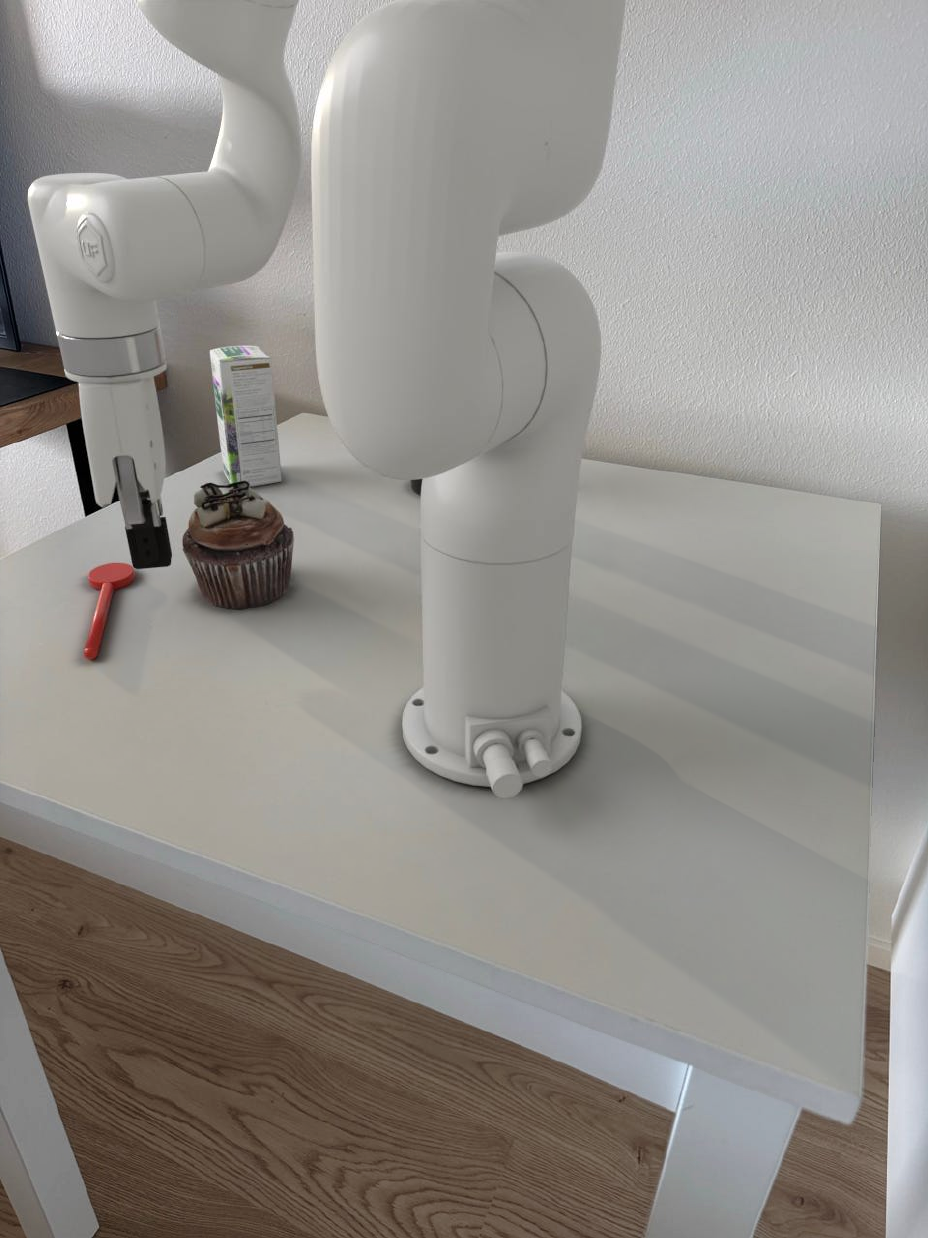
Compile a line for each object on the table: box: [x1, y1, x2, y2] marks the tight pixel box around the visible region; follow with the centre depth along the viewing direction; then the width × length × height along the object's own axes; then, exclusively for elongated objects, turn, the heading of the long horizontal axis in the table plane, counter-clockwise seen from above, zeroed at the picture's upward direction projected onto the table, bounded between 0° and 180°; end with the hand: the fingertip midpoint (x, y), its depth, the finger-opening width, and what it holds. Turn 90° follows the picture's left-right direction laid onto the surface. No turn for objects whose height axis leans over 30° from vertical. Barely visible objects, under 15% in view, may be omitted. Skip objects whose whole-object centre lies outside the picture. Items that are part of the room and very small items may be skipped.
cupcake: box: [181, 481, 295, 610], centre depth 80 cm, size 10×10×10 cm
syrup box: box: [209, 345, 283, 488], centre depth 101 cm, size 6×6×14 cm
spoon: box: [83, 562, 136, 660], centre depth 78 cm, size 16×4×1 cm, turn 12°
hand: (153, 563), depth 79 cm, fingers closed
